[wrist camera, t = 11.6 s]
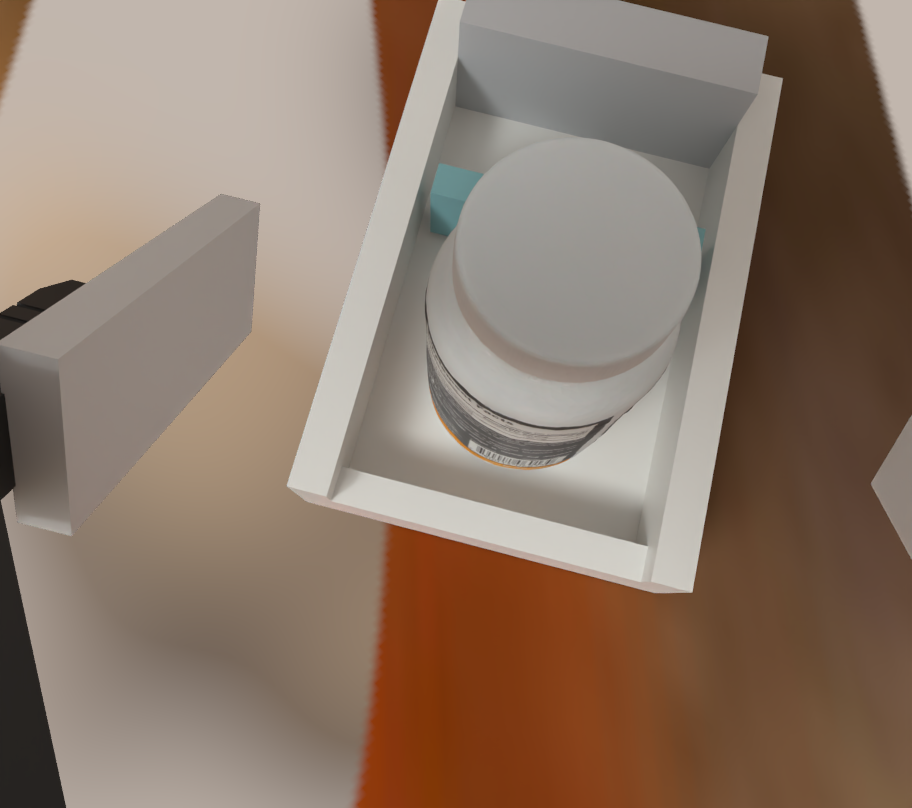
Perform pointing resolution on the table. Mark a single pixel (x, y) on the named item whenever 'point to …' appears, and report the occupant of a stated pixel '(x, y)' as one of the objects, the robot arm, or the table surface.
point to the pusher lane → (415, 248)
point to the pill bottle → (557, 300)
